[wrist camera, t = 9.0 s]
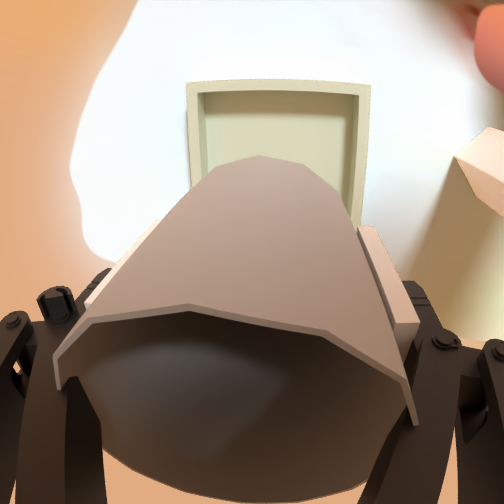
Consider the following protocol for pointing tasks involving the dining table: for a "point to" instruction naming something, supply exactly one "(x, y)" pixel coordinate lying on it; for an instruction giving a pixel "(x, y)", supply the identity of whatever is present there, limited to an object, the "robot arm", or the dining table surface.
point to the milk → (485, 167)
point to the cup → (244, 344)
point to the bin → (283, 129)
